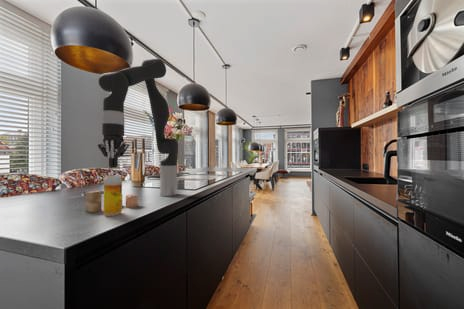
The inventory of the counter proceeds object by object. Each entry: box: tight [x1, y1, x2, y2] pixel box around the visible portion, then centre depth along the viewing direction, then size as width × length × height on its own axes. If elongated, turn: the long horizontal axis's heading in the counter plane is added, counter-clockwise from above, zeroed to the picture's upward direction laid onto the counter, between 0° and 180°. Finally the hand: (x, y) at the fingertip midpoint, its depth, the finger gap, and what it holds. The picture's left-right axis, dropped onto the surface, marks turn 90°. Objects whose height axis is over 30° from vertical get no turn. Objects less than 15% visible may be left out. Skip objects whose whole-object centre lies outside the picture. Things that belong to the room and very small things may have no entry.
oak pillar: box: [84, 190, 103, 213], centre depth 85 cm, size 4×4×8 cm
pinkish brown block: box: [125, 193, 139, 209], centre depth 93 cm, size 5×5×5 cm
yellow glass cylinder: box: [103, 174, 123, 217], centre depth 80 cm, size 6×6×15 cm
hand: (113, 167), depth 80 cm, fingers closed
